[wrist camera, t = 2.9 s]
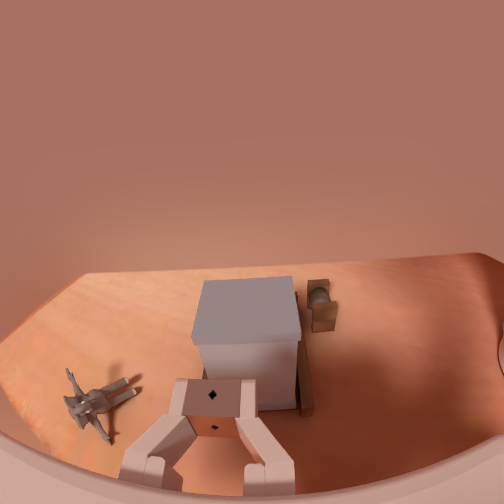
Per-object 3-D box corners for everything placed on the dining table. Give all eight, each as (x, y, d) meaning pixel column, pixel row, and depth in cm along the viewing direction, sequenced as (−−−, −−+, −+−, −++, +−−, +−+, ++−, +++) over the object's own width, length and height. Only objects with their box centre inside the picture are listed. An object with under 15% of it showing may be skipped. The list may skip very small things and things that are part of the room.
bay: (326, 302, 42) (328, 278, 40) (353, 409, 26) (362, 388, 24) (217, 309, 43) (212, 285, 41) (201, 418, 27) (192, 399, 25)
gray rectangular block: (290, 357, 34) (291, 276, 28) (295, 408, 27) (301, 331, 21) (222, 360, 34) (204, 280, 28) (217, 411, 28) (191, 336, 22)
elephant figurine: (162, 418, 27) (100, 454, 20) (143, 423, 30) (89, 454, 23) (117, 343, 30) (50, 367, 22) (104, 358, 32) (46, 380, 25)
